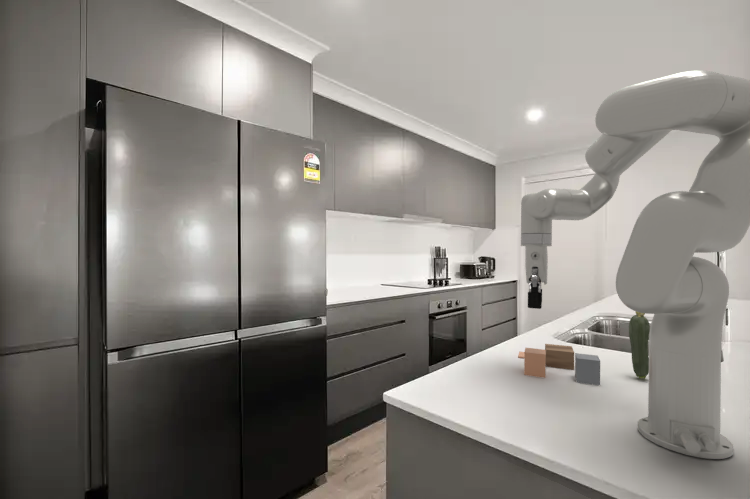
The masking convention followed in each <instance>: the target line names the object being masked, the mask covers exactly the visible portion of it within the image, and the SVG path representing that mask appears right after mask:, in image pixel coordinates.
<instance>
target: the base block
mask: <svg viewBox="0 0 750 499" xmlns="http://www.w3.org/2000/svg"><path fill="white" fill-rule="evenodd" d="M544 350H546V363H545V368H553V369H554V368H555V369H560V370H561V369H563V370H569V371H570V370H571V371H575V351H574V349H573V346H572V345H562V344H553V343H552V344H551V343H544Z"/></svg>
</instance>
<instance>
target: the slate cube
mask: <svg viewBox="0 0 750 499" xmlns="http://www.w3.org/2000/svg"><path fill="white" fill-rule="evenodd" d="M574 377H575V381H576V383H580V384H586V385H587V384H588V385H592V384H593V385H595V386H599V385H600V386H601V360H600V357H599V356H598V355H596V354H587V353H578V352H576V353H575V352H574Z"/></svg>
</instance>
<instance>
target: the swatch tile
mask: <svg viewBox="0 0 750 499" xmlns="http://www.w3.org/2000/svg"><path fill="white" fill-rule="evenodd" d="M524 352H525V351H519V352H518V356H517V358H518V359H524Z"/></svg>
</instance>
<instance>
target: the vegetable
mask: <svg viewBox="0 0 750 499" xmlns="http://www.w3.org/2000/svg"><path fill="white" fill-rule="evenodd" d="M645 315H646V313H640V312H636V311H635V315H633V316H631V318H629V321H628V323H629V324H628V337H629V342H630V350H631V351H630V352H631V364H632V368H633V372H634V374H635V376H636V377H637V378H638V379H646V378H647V376H649V333H650V327H651V324H650V321H649V319H648V318H646V316H645Z"/></svg>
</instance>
